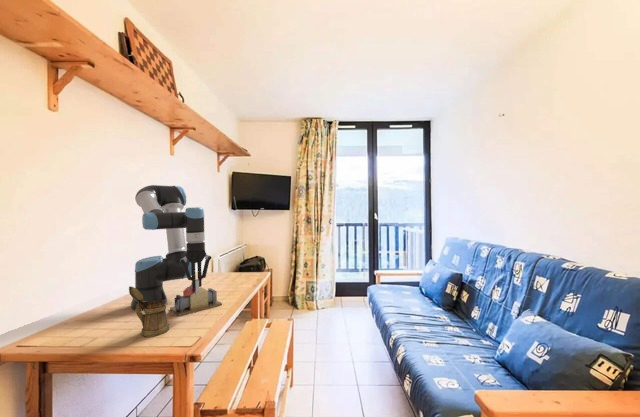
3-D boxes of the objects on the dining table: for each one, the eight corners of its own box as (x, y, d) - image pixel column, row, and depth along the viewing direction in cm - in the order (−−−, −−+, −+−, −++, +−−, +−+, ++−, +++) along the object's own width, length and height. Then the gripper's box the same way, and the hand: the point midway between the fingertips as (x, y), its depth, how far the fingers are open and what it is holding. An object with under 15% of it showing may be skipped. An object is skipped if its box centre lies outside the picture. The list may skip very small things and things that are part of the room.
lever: (192, 285, 134) (192, 281, 134) (201, 285, 135) (201, 280, 135) (182, 296, 118) (182, 290, 118) (192, 295, 119) (192, 290, 119)
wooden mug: (134, 329, 109) (134, 283, 109) (172, 325, 111) (171, 281, 112) (123, 339, 100) (123, 289, 100) (164, 335, 103) (164, 286, 103)
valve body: (169, 309, 130) (169, 288, 130) (211, 299, 144) (211, 280, 144) (178, 316, 121) (177, 293, 121) (222, 305, 135) (221, 284, 135)
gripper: (180, 244, 117) (182, 299, 117) (212, 241, 124) (214, 293, 124) (178, 242, 123) (180, 295, 123) (209, 239, 130) (210, 290, 130)
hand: (197, 294), depth 123 cm, fingers closed
